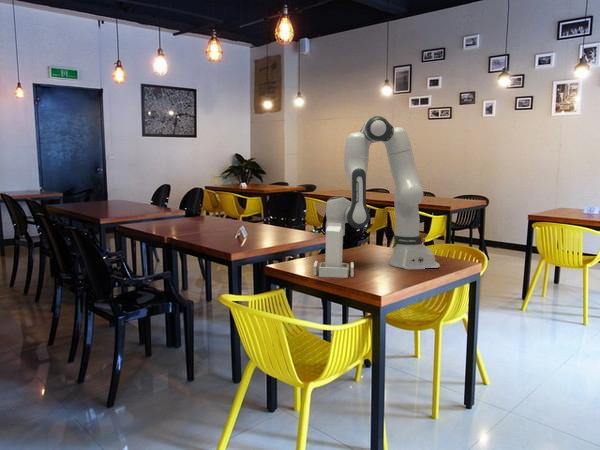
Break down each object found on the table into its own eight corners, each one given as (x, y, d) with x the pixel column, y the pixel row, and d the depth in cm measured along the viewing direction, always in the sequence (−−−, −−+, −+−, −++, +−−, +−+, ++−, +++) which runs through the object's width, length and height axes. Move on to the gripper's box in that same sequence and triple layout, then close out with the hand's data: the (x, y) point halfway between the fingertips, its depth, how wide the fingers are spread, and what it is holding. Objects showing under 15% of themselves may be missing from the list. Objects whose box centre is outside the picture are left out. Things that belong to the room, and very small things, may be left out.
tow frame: (348, 263, 231) (348, 256, 230) (348, 276, 206) (348, 268, 206) (320, 263, 232) (321, 255, 231) (317, 276, 207) (318, 267, 207)
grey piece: (353, 270, 217) (353, 262, 216) (353, 278, 205) (353, 268, 204) (314, 269, 218) (315, 260, 218) (313, 276, 206) (313, 267, 206)
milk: (329, 270, 217) (329, 221, 214) (342, 272, 215) (343, 222, 212) (325, 273, 211) (325, 223, 208) (338, 275, 209) (339, 224, 206)
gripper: (341, 235, 216) (341, 265, 218) (342, 228, 237) (341, 256, 239) (327, 234, 217) (327, 265, 219) (329, 227, 237) (328, 255, 239)
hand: (334, 260), depth 229 cm, fingers closed
